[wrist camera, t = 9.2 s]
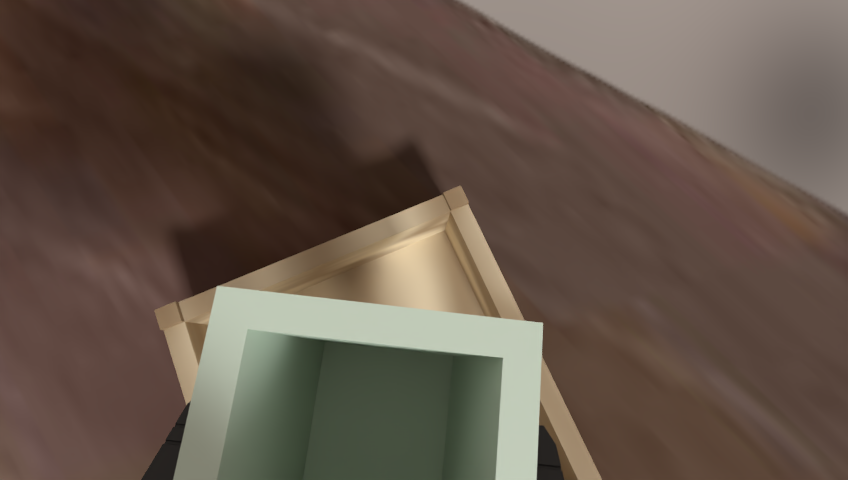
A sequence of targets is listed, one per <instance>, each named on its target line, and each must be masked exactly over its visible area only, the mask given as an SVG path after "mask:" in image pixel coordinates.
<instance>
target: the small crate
mask: <svg viewBox="0 0 848 480" xmlns="http://www.w3.org/2000/svg"><path fill="white" fill-rule="evenodd" d="M542 337H543V323H539V322H530V321H522V320H513V319H504V318H495V317H486V316H478V315H469V314H460V313H451V312H443V311H434V310H425V309H416V308H408V307H399V306H390V305H381V304H373V303H364V302H355V301H346V300H338V299H329V298H320V297H311V296H302V295H294V294H285V293H276V292H267V291H259V290H250V289H241V288H232V287H224V286H217V288H216V292H215V297H214V301H213V306H212V310H211V315H210V319H209V323H208V328H207V332H206V337H205V341H204V345H203V350H202V354H201V359H200V363H199V368H198V372H197V376H196V381H195V385H194V390H193V394H192V398H191V403H190V407H189V412H188V416H187V421H186V425H185V429H184V434H183V438H182V443H181V447H180V451H179V456H178V460H177V465H176V469H175V474H174V478H173V480H537V458H538V434H539V410H540V385H541V361H542Z"/></svg>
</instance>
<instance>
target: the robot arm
mask: <svg viewBox="0 0 848 480" xmlns="http://www.w3.org/2000/svg"><path fill="white" fill-rule="evenodd" d="M190 403H191V401H190V402H189V403H188V404H187V405H186V407H185V409H184V410H183V412H182V414H181V415H180V417H179V419H178V420H177V422H176V425H175V427H173V428H172V430H171V432H170V433H169V435H168V437H167V438H166V442H165V444H163V445H162V447H161V448H160V450H159V452H158V453H157V455H156V456H155V458H154V460H153V461H152V463H151V465H150V466H149V468H148V470H147V471H146V473H145V475H144V476H143V478H142V479H141V480H173V478H174V474H175V469H176V465H177V460H178V456H179V451H180V447H181V443H182V438H183V434H184V429H185V425H186V421H187V416H188V412H189V407H190ZM537 480H564V477H563V472H562V471H561V464H560V459H559V455H558V451H557V447H556V444H555V442H554V441H553V439H552V438H551V436H550V435H549V433H548V432H547V430H546V428H545V427H544V426H542V425H539V434H538V458H537Z"/></svg>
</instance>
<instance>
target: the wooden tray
mask: <svg viewBox="0 0 848 480" xmlns="http://www.w3.org/2000/svg"><path fill="white" fill-rule="evenodd" d="M468 203H469V202H468V200H467V198H466V195H465V193H464V191H463V189H462V187H461V186H458V187H456V188H453V189H451V190H448V191H446V192H443V195H440V196H438V197H436V198H433V199H431V200H428V201H426V202H423V203H421V204H418V205H416V206H413V207H411V208H409V209H406V210H404V211H401V212H399V213H396V214H394V215H391V216H389V217H386V218H384V219H382V220H379V221H377V222H374V223H372V224H369V225H367V226H364V227H362V228H359V229H357V230H355V231H352V232H350V233H347V234H345V235H342V236H340V237H337V238H335V239H332V240H330V241H328V242H325V243H323V244H320V245H318V246H315V247H313V248H310V249H308V250H305V251H303V252H301V253H298V254H296V255H293V256H291V257H288V258H286V259H283V260H281V261H278V262H276V263H274V264H271V265H269V266H266V267H264V268H261V269H259V270H256V271H254V272H251V273H249V274H247V275H244V276H242V277H239V278H237V279H234V280H232V281H229V282H227V283H224V284H222V285H220V286H224V287H232V288H241V289H250V290H259V291H267V292H276V293H285V294H294V295H302V296H311V297H320V298H329V299H338V300H346V301H355V302H364V303H373V304H381V305H390V306H399V307H408V308H416V309H425V310H434V311H443V312H451V313H460V314H469V315H478V316H486V317H495V318H504V319H513V320H522V321H525V320H524V318H523V316H522V314H521V312H520V310H519V308H518V306H517V304H516V302H515V300H514V298H513V296H512V294H511V292H510V290H509V287H508V285H507V283H506V281H505V279H504V277H503V275H502V273H501V271H500V269H499V267H498V265H497V263H496V261H495V259H494V257H493V255H492V252H491V250H490V248H489V246H488V244H487V242H486V240H485V238H484V236H483V234H482V232H481V230H480V228H479V226H478V224H477V222H476V220H475V217H474V215H473V213H472V211H471V209H470V207H469V205H468ZM216 288H217V287H215V288H212V289H210V290H207V291H205V292H202V293H200V294H197V295H195V296H193V297H190V298H188V299H185V300H183V301H180V302H173V303H171V304H168V305H166V306H163V307H161V308H158V309H156V310H154V311H155V314H156V317H157V321H158V324H159V327H160V330H164V333H165V336H166V339H167V343H168V346H169V349H170V353H171V356H172V359H173V362H174V366H175V369H176V372H177V376H178V379H179V382H180V385H181V389H182V392H183V395H184V399H185V402H186V405H187V404H188V403H189V402H190V401H191V398H192V394H193V390H194V385H195V381H196V376H197V372H198V368H199V363H200V359H201V354H202V350H203V345H204V341H205V337H206V332H207V328H208V323H209V319H210V315H211V310H212V306H213V301H214V297H215V292H216ZM539 425H542V426H544V427H545V428H546V430H547V432H548V433H549V435H550V436H551V438H552V439H553V441H554V442H555V444H556V447H557V451H558V455H559V459H560V464H561V471H562V472H563V477H564V480H602V479H601V477H600V475H599V473H598V471H597V469H596V467H595V464H594V462H593V460H592V458H591V456H590V454H589V452H588V450H587V448H586V446H585V444H584V442H583V440H582V438H581V436H580V434H579V432H578V429H577V427H576V425H575V423H574V421H573V419H572V417H571V415H570V413H569V411H568V409H567V407H566V405H565V403H564V401H563V399H562V397H561V394H560V392H559V390H558V388H557V386H556V384H555V382H554V380H553V378H552V376H551V374H550V372H549V370H548V368H547V366H546V364H545V362H544V360H543V357H542V361H541V385H540V410H539Z"/></svg>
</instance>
